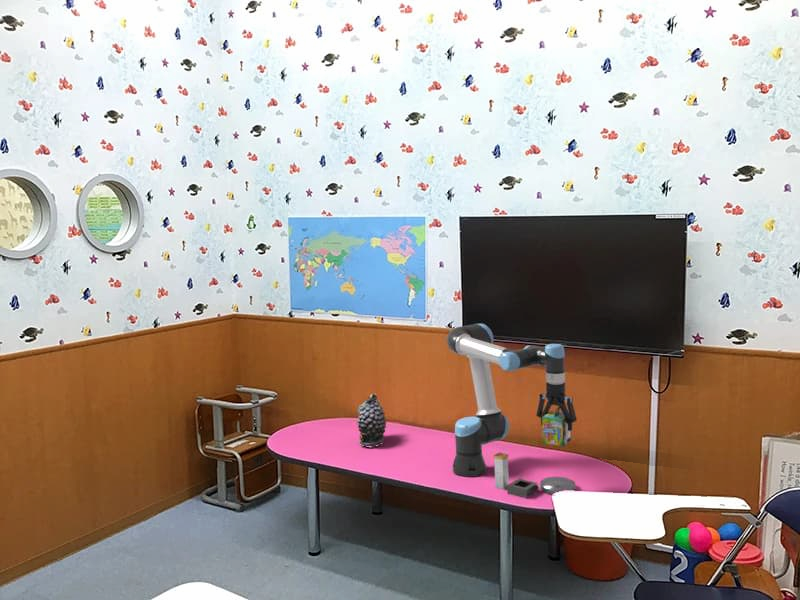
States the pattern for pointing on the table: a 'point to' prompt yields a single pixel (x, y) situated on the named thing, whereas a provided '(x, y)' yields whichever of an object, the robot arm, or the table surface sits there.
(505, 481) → the white rectangular box
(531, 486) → the socket
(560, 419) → the chalk box
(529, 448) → the table surface
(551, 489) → the rosette disc
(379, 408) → the dark pine cone
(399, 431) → the table surface
